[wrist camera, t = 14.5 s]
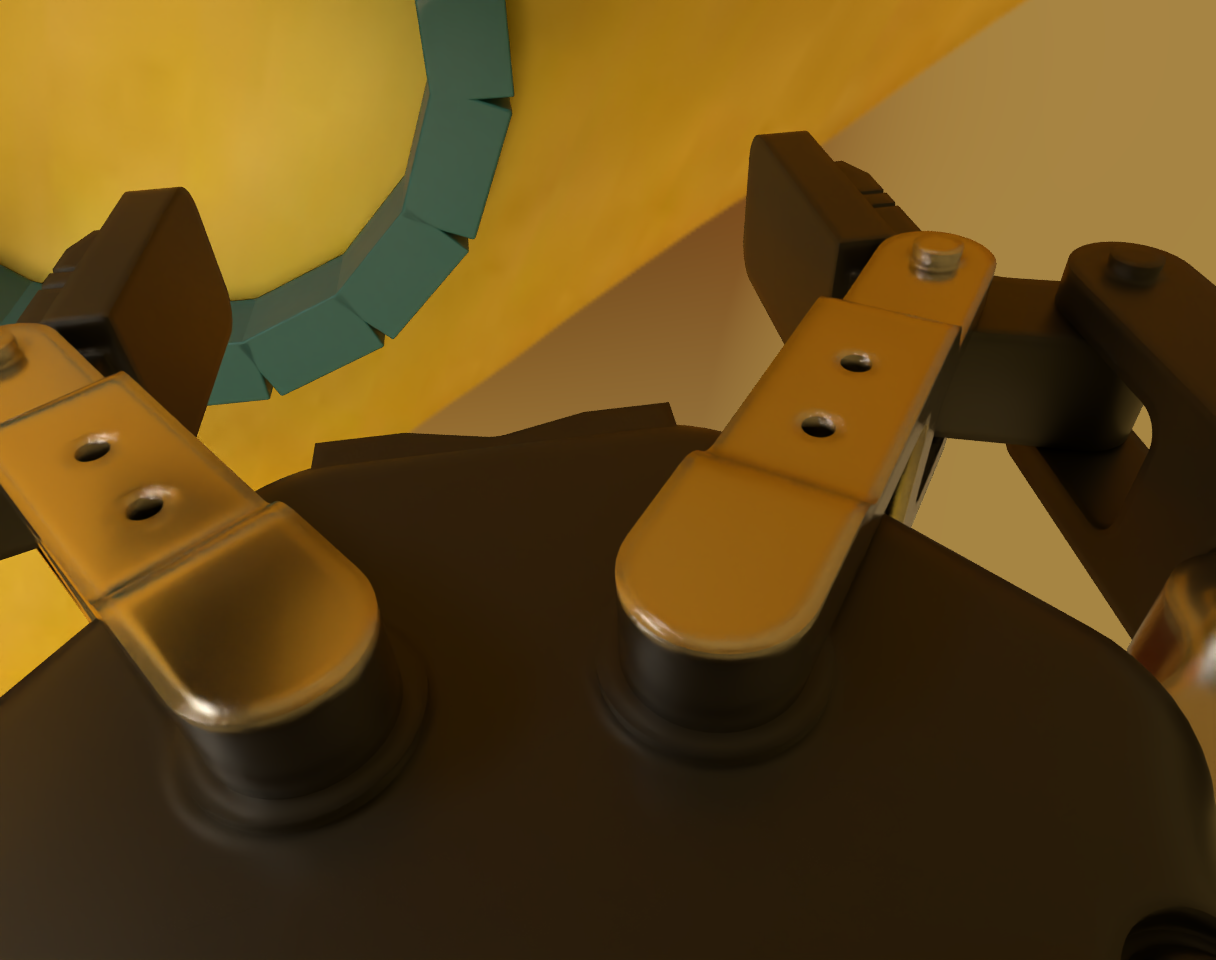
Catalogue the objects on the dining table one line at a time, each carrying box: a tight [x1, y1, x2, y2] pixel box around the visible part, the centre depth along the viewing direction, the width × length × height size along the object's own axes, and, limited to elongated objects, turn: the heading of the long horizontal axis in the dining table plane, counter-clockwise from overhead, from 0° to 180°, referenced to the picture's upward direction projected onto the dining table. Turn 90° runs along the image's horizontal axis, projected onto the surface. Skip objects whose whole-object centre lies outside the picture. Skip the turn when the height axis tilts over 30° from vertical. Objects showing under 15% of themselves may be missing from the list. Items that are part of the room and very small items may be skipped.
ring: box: [0, 0, 514, 406], centre depth 24 cm, size 23×23×3 cm
